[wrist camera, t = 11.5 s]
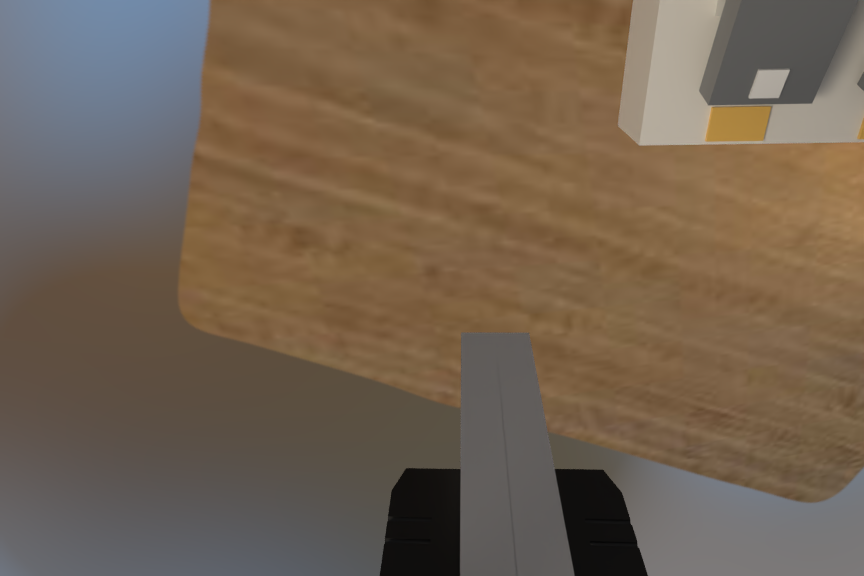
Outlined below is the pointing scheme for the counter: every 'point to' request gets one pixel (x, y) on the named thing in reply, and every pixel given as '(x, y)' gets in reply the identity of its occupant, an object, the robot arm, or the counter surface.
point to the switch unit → (726, 124)
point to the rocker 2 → (861, 82)
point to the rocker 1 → (773, 50)
